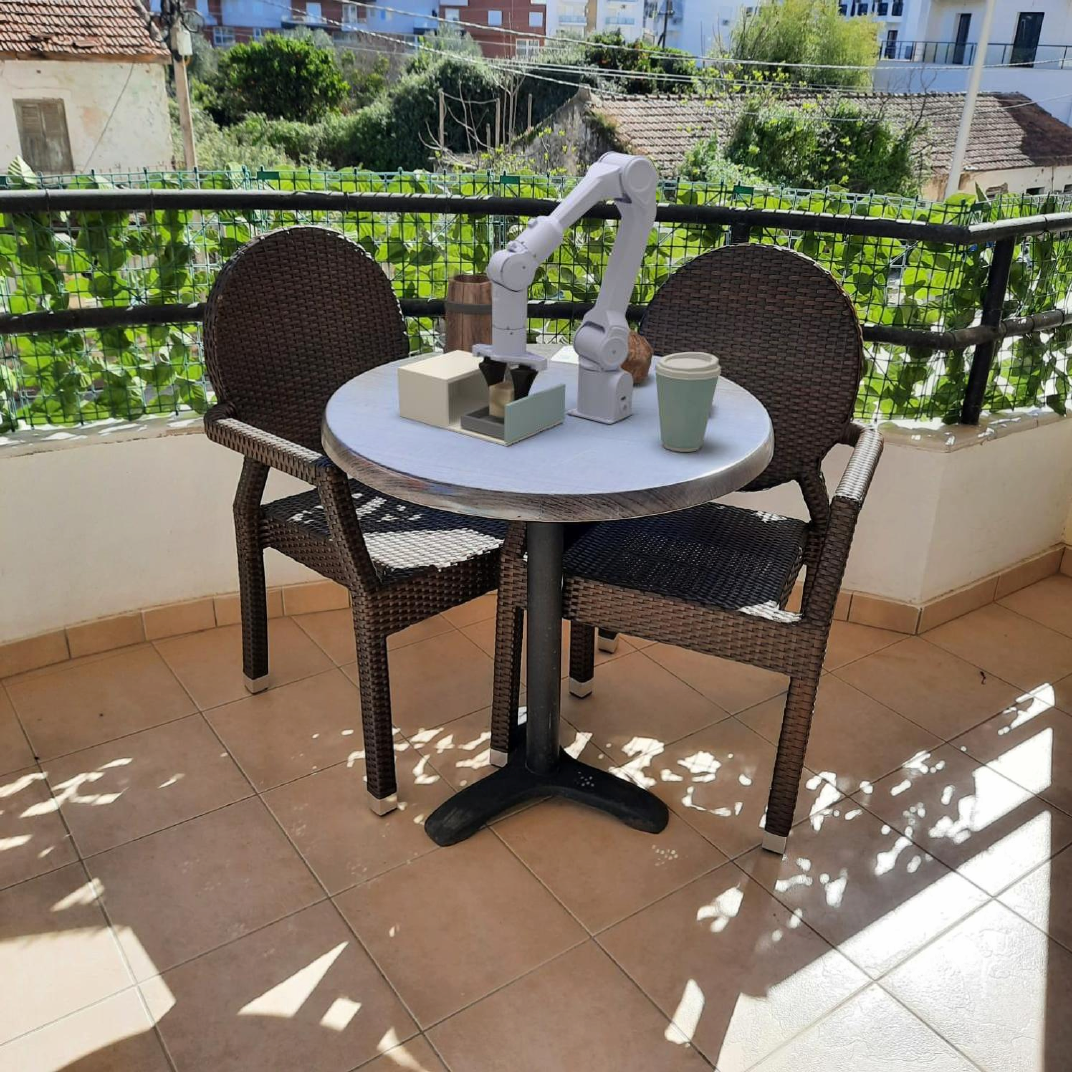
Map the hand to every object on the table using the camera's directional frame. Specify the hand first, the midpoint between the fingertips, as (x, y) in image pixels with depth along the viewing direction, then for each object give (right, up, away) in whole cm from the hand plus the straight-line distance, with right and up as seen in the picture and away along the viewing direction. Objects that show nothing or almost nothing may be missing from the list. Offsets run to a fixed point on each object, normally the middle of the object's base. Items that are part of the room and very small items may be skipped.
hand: (508, 404), depth 166 cm
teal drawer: (0, -4, +2) cm, 4 cm away
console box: (-5, -2, +5) cm, 7 cm away
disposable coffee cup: (+29, -8, -5) cm, 30 cm away
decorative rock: (+22, +9, +30) cm, 38 cm away
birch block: (0, -2, +1) cm, 2 cm away
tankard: (-6, +10, +30) cm, 32 cm away
